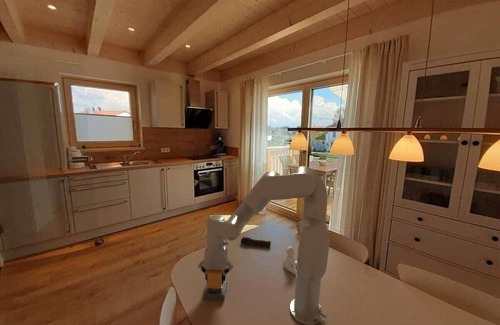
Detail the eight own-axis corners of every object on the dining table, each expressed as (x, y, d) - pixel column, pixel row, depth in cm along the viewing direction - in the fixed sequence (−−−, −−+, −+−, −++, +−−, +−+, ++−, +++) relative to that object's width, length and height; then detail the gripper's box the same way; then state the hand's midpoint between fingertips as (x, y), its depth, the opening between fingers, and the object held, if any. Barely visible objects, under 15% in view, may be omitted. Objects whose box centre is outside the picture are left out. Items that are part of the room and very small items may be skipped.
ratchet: (224, 300, 91) (224, 288, 90) (203, 299, 91) (203, 287, 90) (231, 258, 119) (231, 249, 118) (215, 258, 120) (215, 248, 118)
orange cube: (223, 278, 98) (223, 264, 96) (221, 288, 92) (221, 273, 90) (210, 277, 98) (210, 264, 96) (207, 287, 92) (207, 273, 90)
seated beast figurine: (297, 276, 107) (298, 254, 105) (280, 271, 110) (281, 250, 108) (300, 265, 116) (301, 245, 114) (284, 260, 119) (286, 241, 117)
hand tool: (270, 245, 134) (271, 239, 133) (270, 249, 130) (270, 242, 129) (241, 241, 138) (241, 235, 137) (240, 244, 134) (240, 238, 133)
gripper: (236, 240, 95) (235, 276, 98) (198, 238, 95) (198, 274, 98) (235, 250, 88) (234, 288, 91) (193, 248, 88) (193, 286, 91)
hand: (215, 280), depth 94 cm, fingers closed on orange cube, 6 cm apart
